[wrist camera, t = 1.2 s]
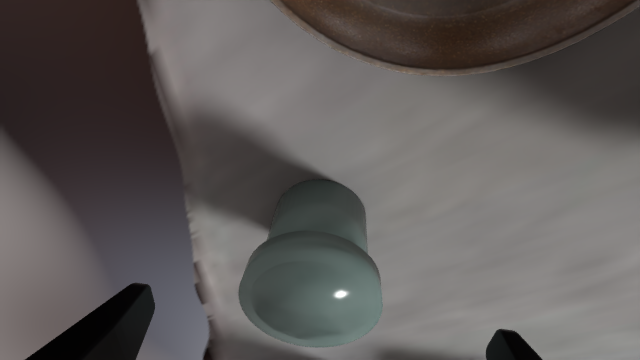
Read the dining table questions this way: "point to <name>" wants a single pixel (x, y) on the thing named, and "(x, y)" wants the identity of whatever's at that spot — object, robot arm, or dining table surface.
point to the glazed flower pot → (314, 270)
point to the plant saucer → (452, 30)
